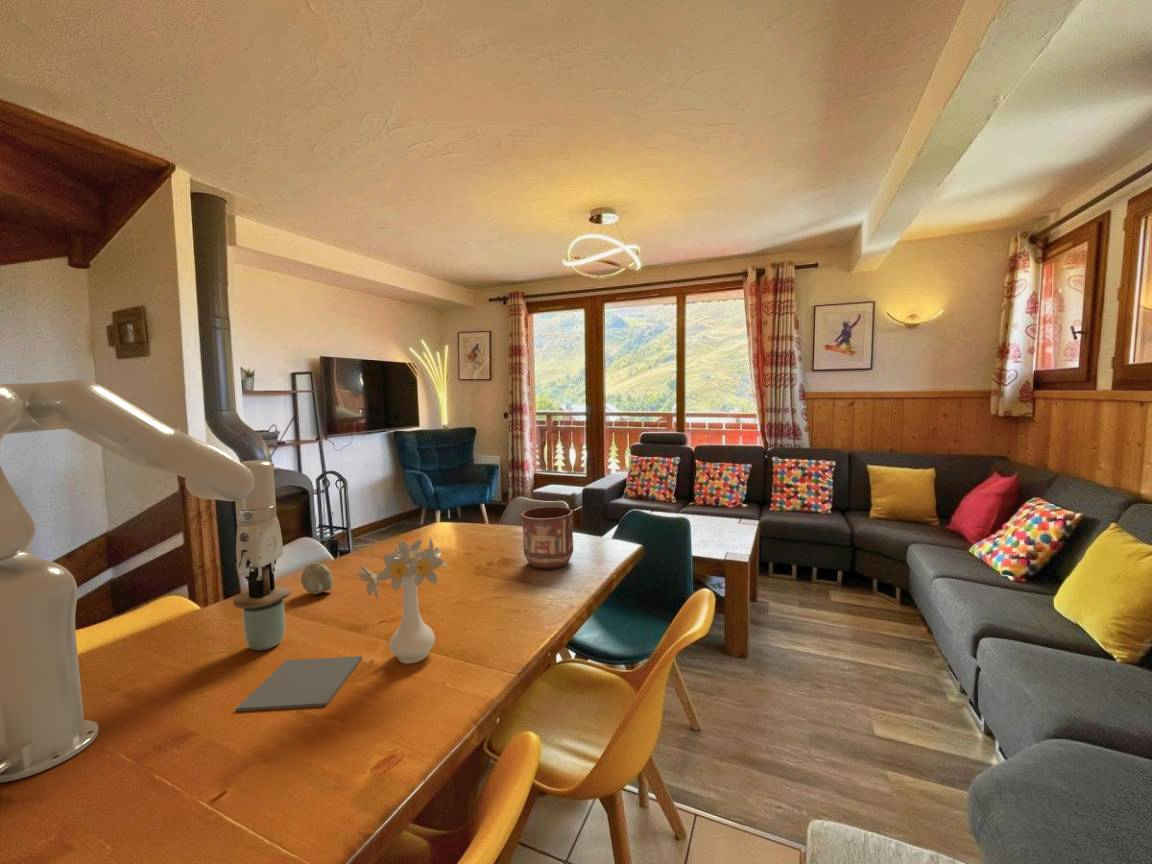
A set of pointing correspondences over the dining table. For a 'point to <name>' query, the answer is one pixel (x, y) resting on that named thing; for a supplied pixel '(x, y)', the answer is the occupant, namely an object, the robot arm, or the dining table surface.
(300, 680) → the mat
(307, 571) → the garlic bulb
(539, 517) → the pottery
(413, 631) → the flower vase
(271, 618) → the cup
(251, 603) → the lid
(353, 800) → the dining table surface
